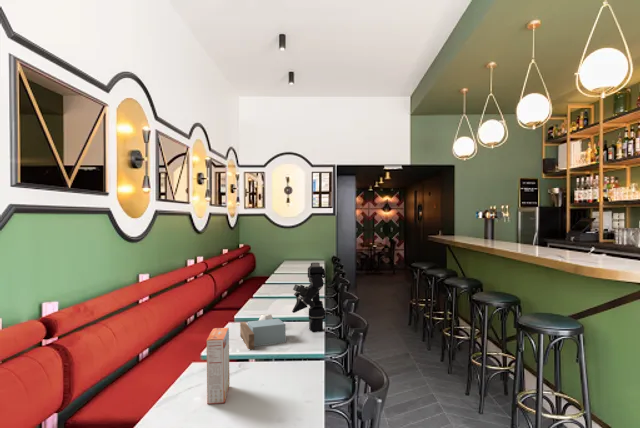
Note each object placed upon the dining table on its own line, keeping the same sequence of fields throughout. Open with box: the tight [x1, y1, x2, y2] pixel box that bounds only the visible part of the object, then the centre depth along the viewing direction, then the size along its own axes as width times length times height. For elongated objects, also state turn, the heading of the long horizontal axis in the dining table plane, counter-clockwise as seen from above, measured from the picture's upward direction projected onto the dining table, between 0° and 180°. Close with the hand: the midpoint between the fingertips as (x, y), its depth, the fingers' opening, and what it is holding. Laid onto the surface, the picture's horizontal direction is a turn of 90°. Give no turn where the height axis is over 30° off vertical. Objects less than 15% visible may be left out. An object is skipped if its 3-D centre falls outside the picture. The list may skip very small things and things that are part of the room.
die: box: [258, 313, 274, 320], centre depth 217 cm, size 8×9×10 cm
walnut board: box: [239, 321, 255, 350], centre depth 194 cm, size 2×24×7 cm, turn 20°
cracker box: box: [205, 327, 230, 405], centre depth 135 cm, size 14×6×21 cm, turn 6°
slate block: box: [247, 318, 287, 347], centre depth 197 cm, size 16×12×9 cm
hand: (292, 312), depth 202 cm, fingers closed
